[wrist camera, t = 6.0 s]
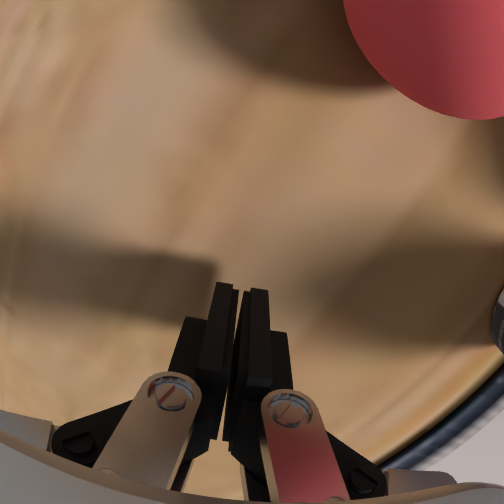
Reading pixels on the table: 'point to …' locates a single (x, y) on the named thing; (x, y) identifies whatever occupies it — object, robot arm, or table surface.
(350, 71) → the table surface
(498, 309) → the pill bottle
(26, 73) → the table surface
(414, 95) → the ball
